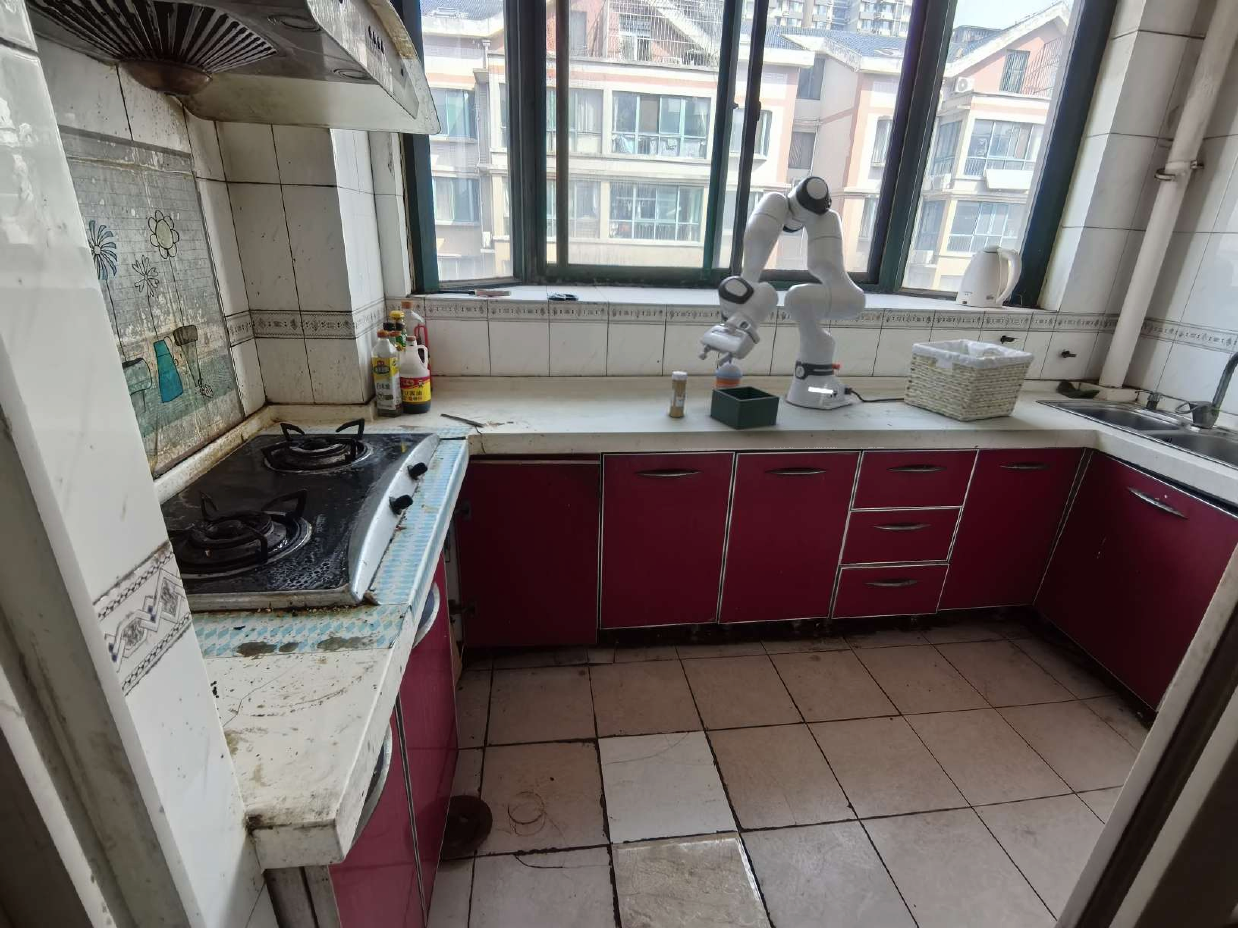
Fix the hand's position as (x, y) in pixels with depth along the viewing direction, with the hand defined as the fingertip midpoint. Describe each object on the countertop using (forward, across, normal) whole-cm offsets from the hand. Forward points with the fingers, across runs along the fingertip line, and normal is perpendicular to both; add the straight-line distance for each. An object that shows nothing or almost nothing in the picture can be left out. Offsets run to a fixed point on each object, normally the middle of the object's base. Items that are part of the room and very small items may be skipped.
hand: (709, 361), depth 182 cm
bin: (+7, +12, +16) cm, 21 cm away
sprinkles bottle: (+19, +1, +4) cm, 20 cm away
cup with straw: (+3, -6, +20) cm, 21 cm away
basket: (-50, +25, +73) cm, 92 cm away
